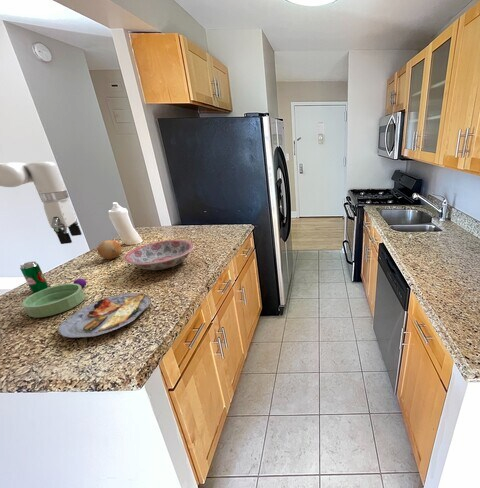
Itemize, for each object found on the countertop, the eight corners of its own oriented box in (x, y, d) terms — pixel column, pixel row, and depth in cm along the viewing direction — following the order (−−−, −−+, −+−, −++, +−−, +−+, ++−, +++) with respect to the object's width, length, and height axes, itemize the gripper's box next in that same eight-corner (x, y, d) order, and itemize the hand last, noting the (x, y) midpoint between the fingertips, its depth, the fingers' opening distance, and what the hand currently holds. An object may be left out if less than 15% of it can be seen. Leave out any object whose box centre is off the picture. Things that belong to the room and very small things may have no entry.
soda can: (28, 292, 107) (15, 265, 102) (43, 285, 111) (31, 260, 107) (37, 293, 105) (24, 267, 101) (52, 287, 110) (40, 261, 105)
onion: (109, 263, 131) (103, 245, 127) (96, 260, 134) (89, 242, 130) (128, 255, 139) (123, 238, 136) (115, 253, 142) (109, 236, 139)
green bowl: (18, 323, 88) (11, 311, 86) (41, 299, 101) (36, 288, 99) (76, 311, 94) (71, 300, 92) (91, 290, 107) (87, 280, 105)
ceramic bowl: (176, 249, 147) (173, 236, 144) (209, 260, 133) (206, 246, 130) (117, 270, 124) (112, 254, 121) (149, 286, 110) (144, 269, 107)
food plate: (101, 298, 102) (98, 291, 100) (162, 296, 103) (160, 288, 102) (41, 345, 79) (36, 336, 77) (121, 341, 80) (118, 332, 79)
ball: (73, 290, 107) (70, 282, 106) (77, 286, 111) (74, 277, 109) (85, 288, 109) (82, 280, 107) (89, 284, 112) (85, 275, 111)
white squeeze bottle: (132, 246, 151) (119, 204, 142) (114, 246, 151) (100, 204, 142) (145, 239, 162) (134, 200, 153) (129, 239, 162) (116, 200, 153)
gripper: (52, 193, 103) (69, 233, 109) (28, 202, 88) (49, 248, 94) (76, 191, 105) (91, 231, 112) (56, 200, 91) (75, 245, 97)
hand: (72, 239), depth 103 cm, fingers open, 9 cm apart
